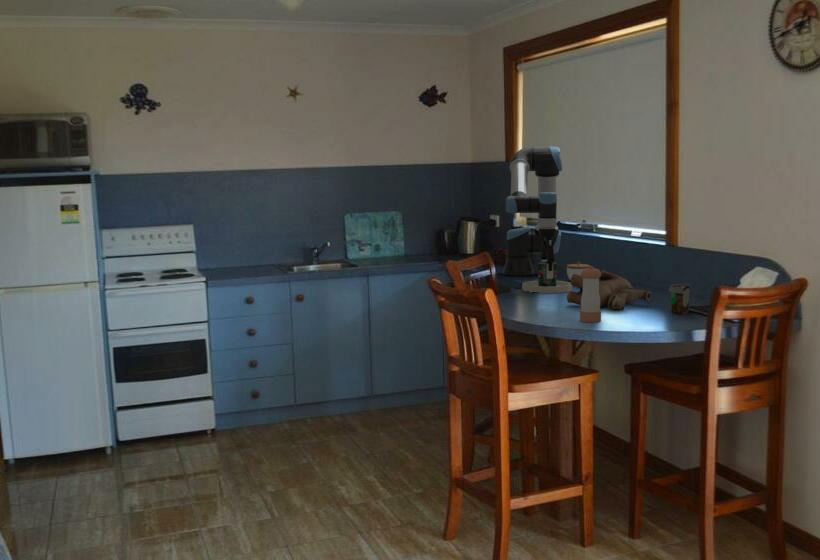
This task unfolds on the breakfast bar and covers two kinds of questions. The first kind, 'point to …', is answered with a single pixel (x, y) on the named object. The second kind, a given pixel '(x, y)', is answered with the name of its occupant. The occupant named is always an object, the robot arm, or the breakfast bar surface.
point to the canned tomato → (543, 275)
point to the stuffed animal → (609, 291)
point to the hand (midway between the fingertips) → (547, 276)
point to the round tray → (559, 288)
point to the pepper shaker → (590, 296)
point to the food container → (680, 298)
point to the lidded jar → (576, 269)
